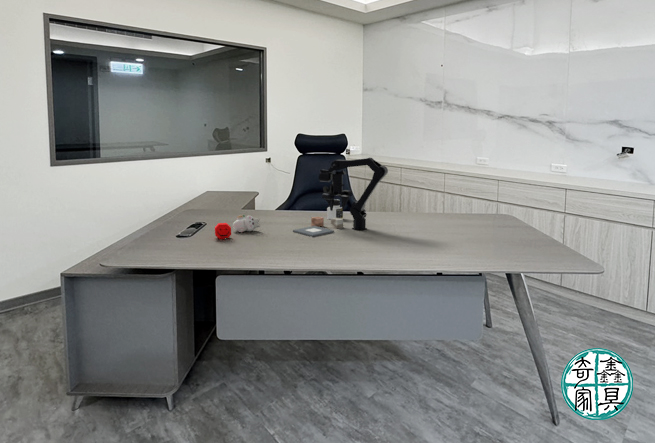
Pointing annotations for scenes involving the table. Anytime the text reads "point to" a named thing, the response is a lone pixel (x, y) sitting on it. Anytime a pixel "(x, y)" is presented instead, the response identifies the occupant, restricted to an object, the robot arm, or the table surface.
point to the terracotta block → (317, 221)
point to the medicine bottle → (335, 211)
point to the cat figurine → (245, 223)
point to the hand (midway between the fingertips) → (337, 209)
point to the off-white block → (337, 223)
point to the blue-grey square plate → (313, 231)
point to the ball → (222, 230)
